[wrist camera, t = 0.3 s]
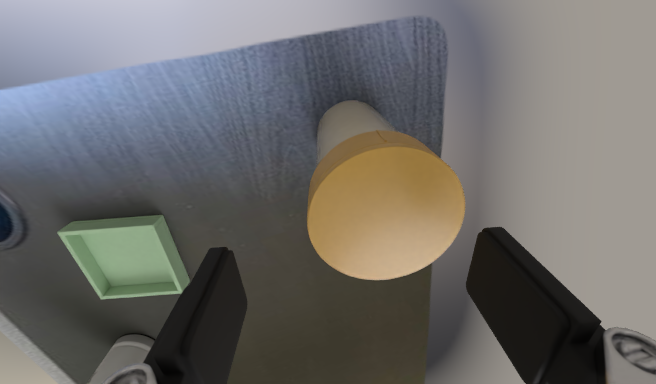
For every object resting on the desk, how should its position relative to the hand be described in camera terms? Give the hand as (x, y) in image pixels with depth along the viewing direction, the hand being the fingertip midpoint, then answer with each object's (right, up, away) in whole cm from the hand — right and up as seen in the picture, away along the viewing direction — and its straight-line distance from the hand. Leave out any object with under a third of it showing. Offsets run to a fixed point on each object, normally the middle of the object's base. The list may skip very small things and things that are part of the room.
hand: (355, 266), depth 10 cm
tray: (-24, -4, +21) cm, 32 cm away
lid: (+2, +2, +3) cm, 4 cm away
